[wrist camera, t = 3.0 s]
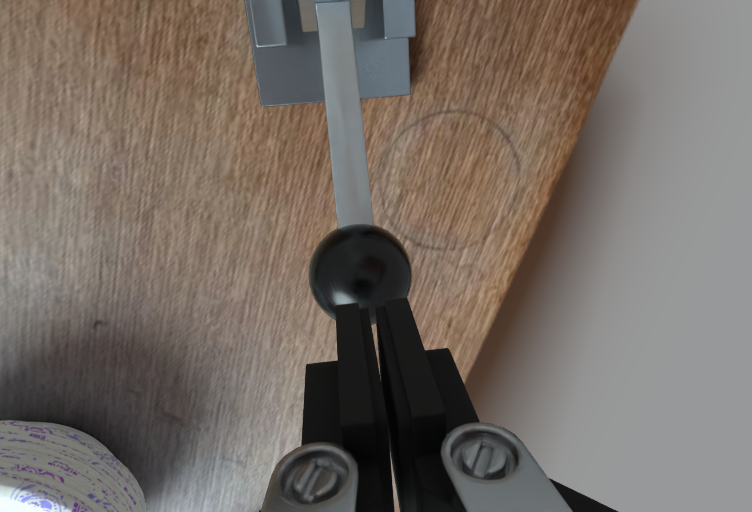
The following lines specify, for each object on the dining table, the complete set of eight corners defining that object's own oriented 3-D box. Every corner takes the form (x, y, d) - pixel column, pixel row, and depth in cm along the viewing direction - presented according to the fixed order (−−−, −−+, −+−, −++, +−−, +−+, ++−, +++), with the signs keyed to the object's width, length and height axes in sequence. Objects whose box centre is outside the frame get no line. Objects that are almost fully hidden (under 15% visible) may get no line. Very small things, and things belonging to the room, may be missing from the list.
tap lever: (410, 318, 17) (425, 323, 14) (317, 328, 17) (309, 336, 13) (370, -41, 18) (375, -114, 15) (282, -35, 18) (266, -109, 14)
